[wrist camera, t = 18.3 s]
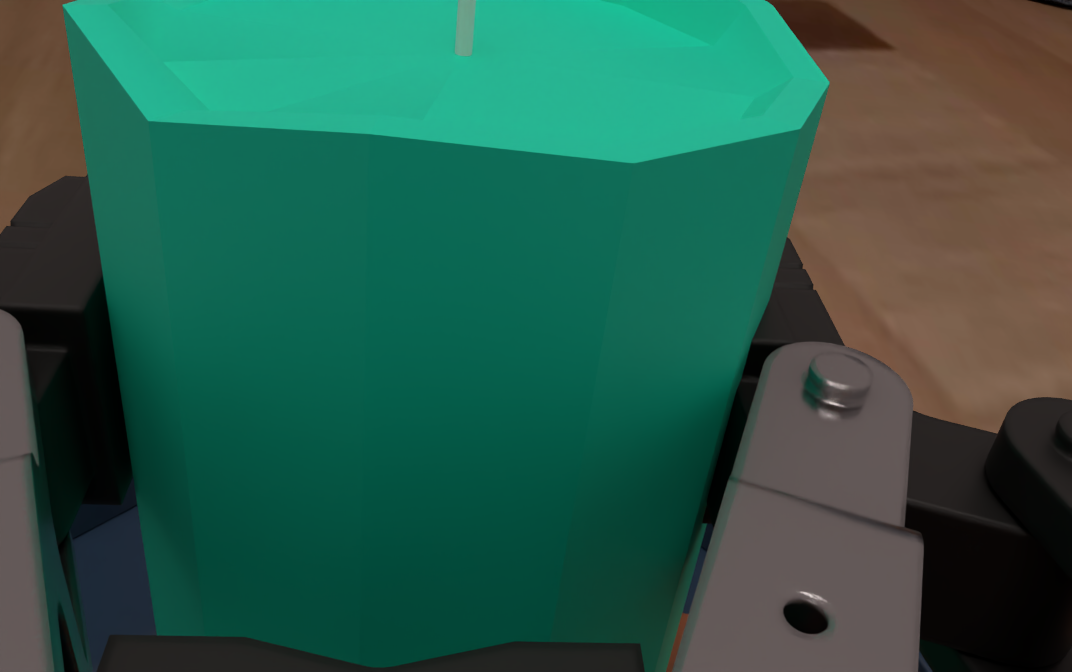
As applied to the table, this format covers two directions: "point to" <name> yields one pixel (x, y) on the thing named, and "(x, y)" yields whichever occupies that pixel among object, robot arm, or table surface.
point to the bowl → (122, 577)
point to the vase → (1061, 2)
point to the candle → (434, 303)
